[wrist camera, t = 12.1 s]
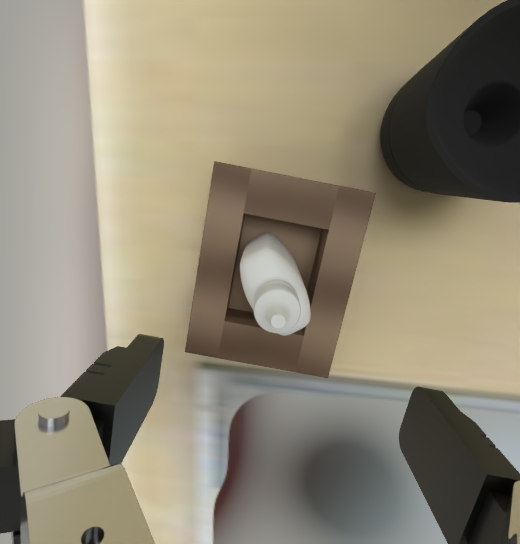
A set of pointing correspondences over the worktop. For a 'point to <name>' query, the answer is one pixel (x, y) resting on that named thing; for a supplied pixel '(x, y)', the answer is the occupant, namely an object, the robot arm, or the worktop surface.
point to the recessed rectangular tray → (304, 249)
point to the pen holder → (462, 115)
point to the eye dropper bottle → (274, 286)
